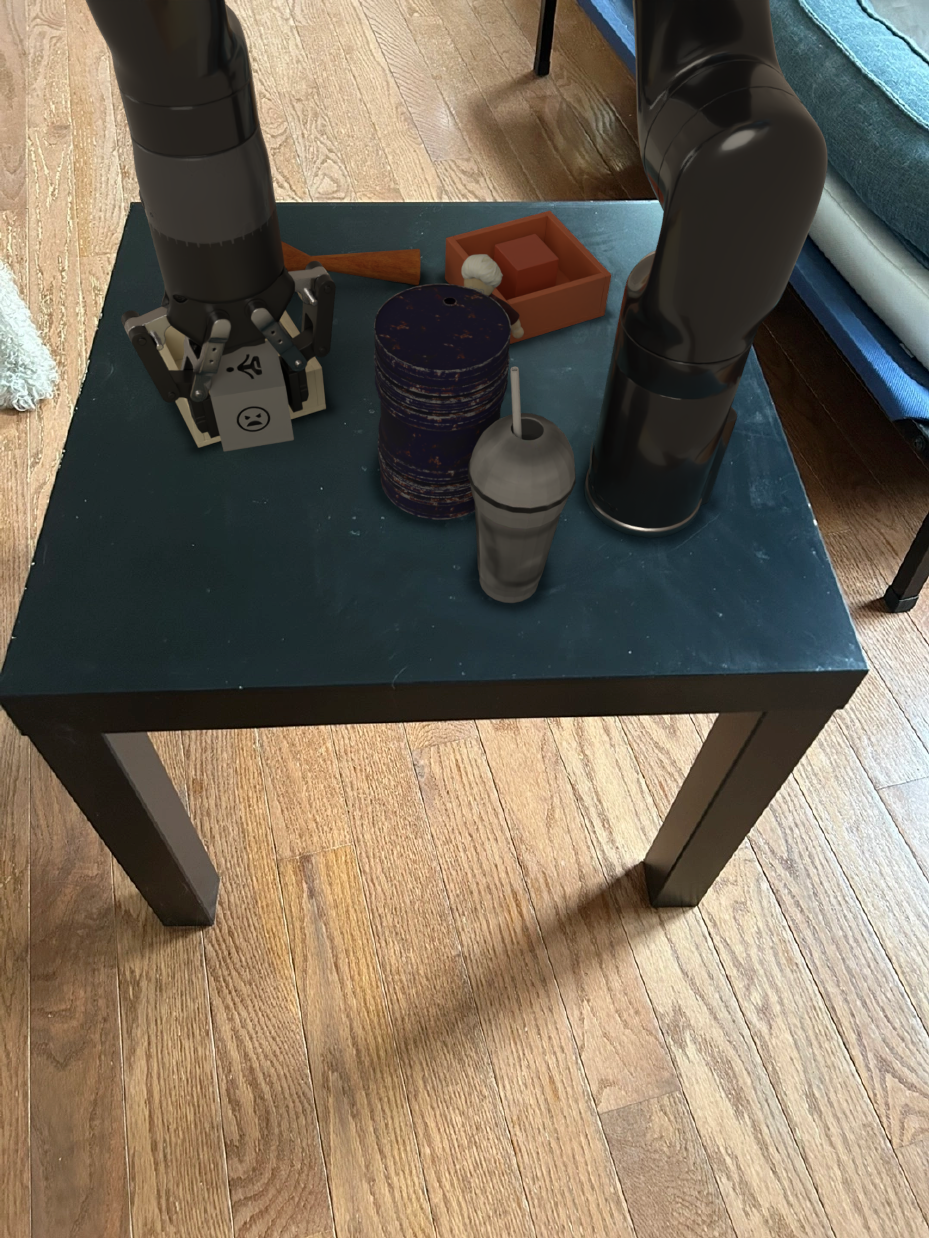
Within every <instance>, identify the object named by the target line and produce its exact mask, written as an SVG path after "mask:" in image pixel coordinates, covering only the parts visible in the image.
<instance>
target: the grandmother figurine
mask: <svg viewBox="0 0 929 1238" xmlns="http://www.w3.org/2000/svg"><path fill="white" fill-rule="evenodd" d="M462 276H463V278H464V287H468V288H471V289H475V290H477V291H479V292H482V293H484V294H486V295H487V296H489V297H491V298H492V299H494V300H495V301H496V302H497V303H499V305H500V306H501V307H502V308H503V309H504V310H505V312H506V313H507V315H508V317H509V320H510V324H511V333H512V335H513V337H514V338H517V339H518V338H521V337H522V336H523V334H524V331H523V329H522V327H521V323H520V321H519V317H520V315H519V314H518V312H516V311H515V310H514V309H513V308H512V307H511V306H510V305H509V304H508V303H507V302H505V301H503V300H502V299H500V298H498V297H496V296H495V295H494V294H492V292H493V290H494V288H496V287H497V286H498V285H499V284H500V283H501V280H502V276H503V275H502V273H501V270H500V268H499V267H498V265H497V263H496V262H495V261H493V260H492V259H491V258H490V257H489V256H488V255H486V254H478V255H471V256H469V257H468V258H467V259H466V260H465V262H464V263H463V266H462Z"/></svg>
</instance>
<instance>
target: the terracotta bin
mask: <svg viewBox="0 0 929 1238" xmlns="http://www.w3.org/2000/svg"><path fill="white" fill-rule="evenodd" d="M533 234H536V235H537V236H538V237H539V238H540V239H541V240H542V241H543V242H544V244H545V245H546V246H547V247H548V248H549V249H550V250H551V251H552V252H553V253H554V254H555V255H556V256H557V257H558V259H559V261H558V269H557V276H556V284H555V286H554V287H551V288H547V289H544V290H540V291H537V292H533V293H530V294H526V295H523V296H520V297H516V298H513V299H509V300H507V301H506V300H505V298H504V297H503V296H502V295H501V294H500V292H499V291H498V290H497V289H496V288H494V290H493V292H492V294H494V295H495V296H496V297H498V298H500V299H502V300H503V301H505V302H507V303H508V304H509V305H510V306H511V307H512V308H513V309H514V310H515V311H516V312H518V314H519V315H520V317H519V321H520V323H521V327H522V329H523V331H524V334H523V336H522V337H521V338H518V339H517V338H514V337H513V335H512V333H511V336H510V344H509V345H513V344H516V343H519V342H521V341H525V340H528V339H532V338H534V337H535V338H536V337H539V336H542V335H544V334H549V333H551V332H555V331H558V330H561V329H565V328H567V327H571V326H574V325H579V324H581V323H584V322H587V321H591V320H594V319H598V318H600V317H604V316H605V314H606V308H607V303H608V297H609V292H610V286H611V282H612V281H611V280H612V277H613V276H612V275H613V274H612V273H611V272H610V271H609V270H608V269H607V268H606V267H605V266H604V265H603V264H602V263H601V262H600V261H599V260H598V259H597V257H595V255H593V253H592V252H590V251H589V249H587V247H586V246H585V245H584V244H583V243H582V242H581V241H580V240H579V239H578V238H577V237H576V236H575V235H574V233H573V232H571V231H570V230H569V228H568V227H567V226H566V225H565V224H564V223H563V222H562V221H561V220H560V219H559V218H558V217H557V216H556V215H555V214H554V213H553V212H552V211H551V210H547V211H543V212H539V213H536V214H535V213H534V214H531V215H527V216H524V217H520V218H516V219H513V220H509V221H505V222H501V223H497V224H494V225H490V226H486V227H482V228H478V229H473V230H471V231H467V232H462V233H460V234H455V235H451V236H448V237H446V238H445V262H444V263H445V265H444V279H445V281H446V282H447V284H453V285H459V286H464V278H463V276H462V266H463V263H464V262H465V260H466V259H467V258H468V257H469V256H471V255H478V254H486V255H488V256H489V257H490V258H491V259H492V260H493V261H494V253H495V245H496V244H500V243H504V242H507V241H511V240H515V239H518V238H522V237H526V236H529V235H533Z"/></svg>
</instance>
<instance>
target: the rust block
mask: <svg viewBox="0 0 929 1238" xmlns="http://www.w3.org/2000/svg"><path fill="white" fill-rule="evenodd" d="M494 261H495V262H496V263H497V265H498V267H499V268H500V270H501V273H502V275H503V276H502V280H501V283H500V284H499V285H498V286H497V287H496V289H497V290H498V291H499V292H500V294H501V295H502V296H503V297H504V298H505V300H506V301H507V300H509V299H513V298H516V297H520V296H523V295H526V294H530V293H533V292H537V291H540V290H544V289H547V288H551V287H554V286H555V284H556V276H557V269H558V261H559V259H558V257H557V256H556V255H555V254H554V253H553V252H552V251H551V250H550V249H549V248H548V247H547V246H546V245H545V244H544V242H543V241H542V240H541V239H540V238H539V237H538V236H537V235H536V234H533V235H529V236H526V237H522V238H518V239H515V240H511V241H507V242H504V243H500V244H496V245H495V253H494Z"/></svg>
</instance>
